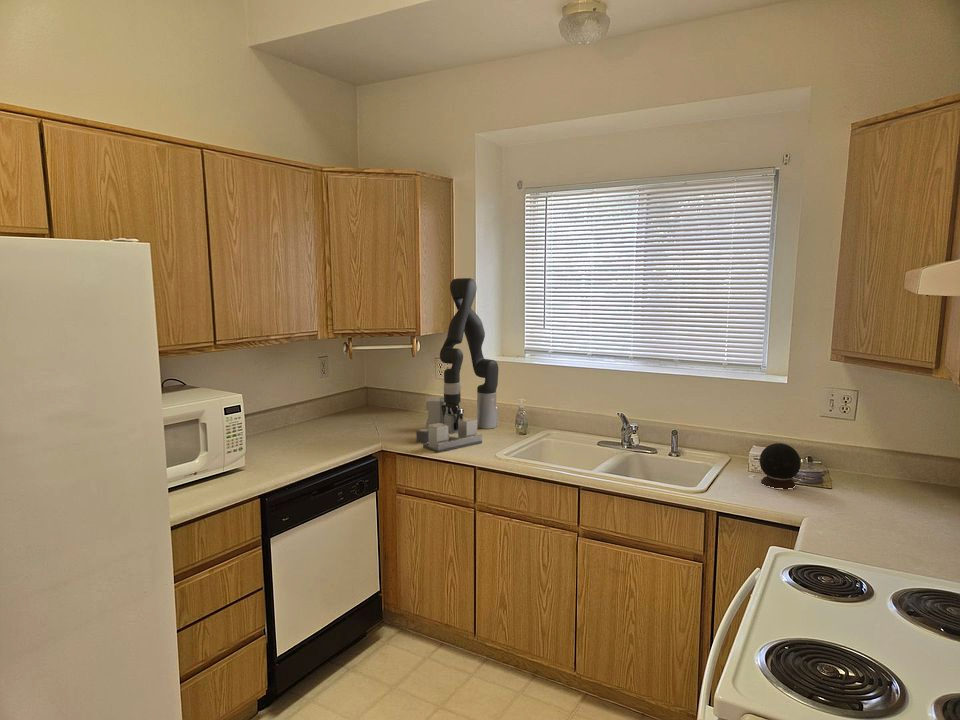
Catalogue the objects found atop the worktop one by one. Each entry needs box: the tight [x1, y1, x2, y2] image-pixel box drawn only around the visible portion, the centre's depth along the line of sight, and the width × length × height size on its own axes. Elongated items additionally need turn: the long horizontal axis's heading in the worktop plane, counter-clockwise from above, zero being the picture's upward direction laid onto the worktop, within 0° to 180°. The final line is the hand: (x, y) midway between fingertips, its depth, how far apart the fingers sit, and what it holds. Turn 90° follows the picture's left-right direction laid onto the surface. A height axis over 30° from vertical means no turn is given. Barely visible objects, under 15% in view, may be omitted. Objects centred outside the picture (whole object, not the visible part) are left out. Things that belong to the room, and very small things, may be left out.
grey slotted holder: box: [422, 417, 483, 454], centre depth 270 cm, size 24×11×10 cm, turn 130°
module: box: [444, 414, 460, 435], centre depth 282 cm, size 6×4×9 cm
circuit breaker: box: [425, 397, 446, 429], centre depth 295 cm, size 8×14×15 cm, turn 89°
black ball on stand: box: [759, 442, 802, 489], centre depth 220 cm, size 13×13×15 cm
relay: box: [415, 428, 429, 444], centre depth 276 cm, size 5×5×5 cm
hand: (452, 428), depth 282 cm, fingers closed on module, 4 cm apart
